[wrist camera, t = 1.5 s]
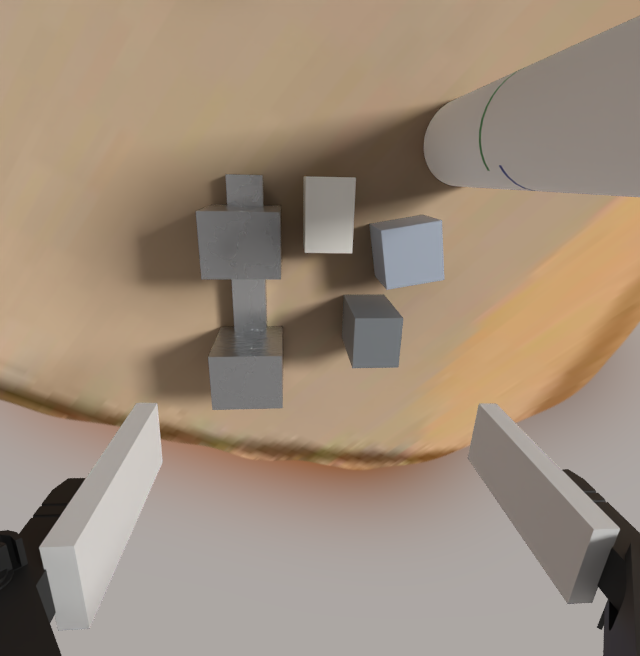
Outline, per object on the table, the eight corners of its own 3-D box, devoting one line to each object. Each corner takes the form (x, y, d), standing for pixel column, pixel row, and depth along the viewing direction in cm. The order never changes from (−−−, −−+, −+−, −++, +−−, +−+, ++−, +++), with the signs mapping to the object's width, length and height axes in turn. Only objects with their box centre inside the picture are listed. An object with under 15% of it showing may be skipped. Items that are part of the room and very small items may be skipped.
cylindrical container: (461, 203, 37) (763, 249, 14) (406, 148, 35) (650, 93, 12) (519, 137, 35) (974, 62, 12) (465, 76, 33) (886, -157, 10)
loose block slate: (369, 223, 37) (381, 230, 32) (422, 214, 37) (441, 220, 32) (374, 275, 39) (386, 289, 34) (425, 267, 39) (444, 279, 34)
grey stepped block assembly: (210, 174, 34) (192, 173, 28) (280, 175, 35) (279, 175, 28) (224, 381, 41) (213, 419, 35) (283, 380, 42) (282, 417, 35)
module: (343, 294, 39) (355, 318, 33) (383, 294, 39) (403, 318, 33) (341, 338, 41) (352, 369, 34) (380, 338, 41) (398, 368, 35)
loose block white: (303, 176, 35) (305, 176, 31) (348, 177, 35) (356, 177, 32) (303, 245, 37) (304, 252, 34) (345, 245, 38) (352, 253, 34)
